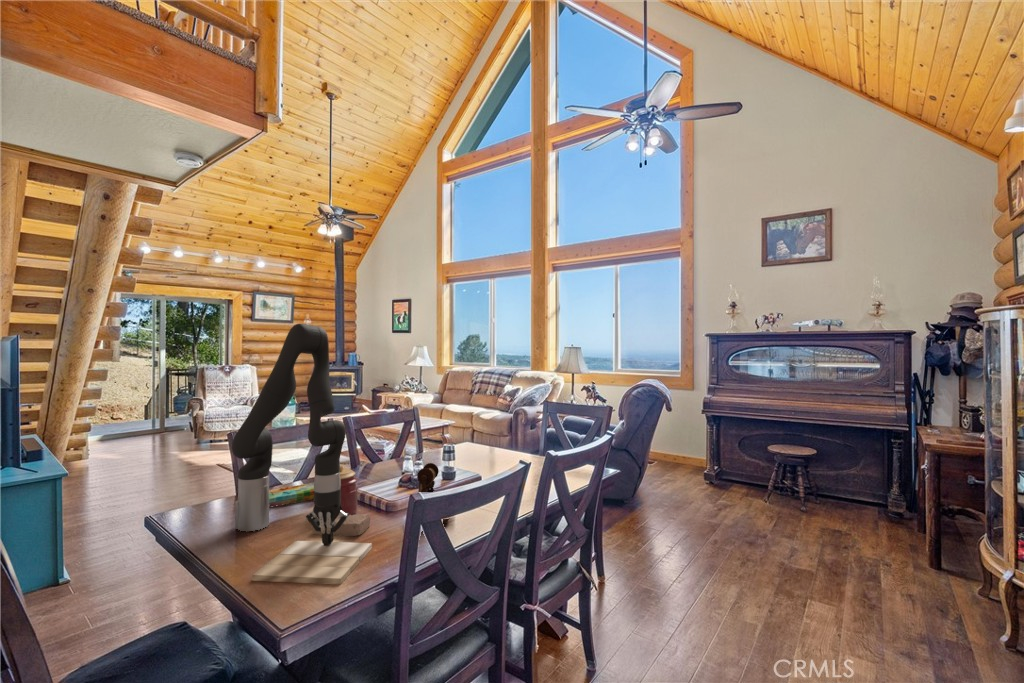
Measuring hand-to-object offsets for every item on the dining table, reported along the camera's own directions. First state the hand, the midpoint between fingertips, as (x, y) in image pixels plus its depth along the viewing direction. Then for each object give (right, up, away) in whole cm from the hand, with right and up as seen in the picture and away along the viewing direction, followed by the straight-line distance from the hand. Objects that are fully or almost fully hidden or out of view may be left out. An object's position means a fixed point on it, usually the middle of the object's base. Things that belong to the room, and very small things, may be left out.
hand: (327, 544), depth 142 cm
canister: (-8, -2, +30) cm, 31 cm away
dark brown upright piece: (+27, -2, +21) cm, 34 cm away
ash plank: (+1, -2, -3) cm, 3 cm away
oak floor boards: (0, -2, -13) cm, 14 cm away
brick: (-1, -2, +14) cm, 15 cm away
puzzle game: (-32, -2, +45) cm, 55 cm away
